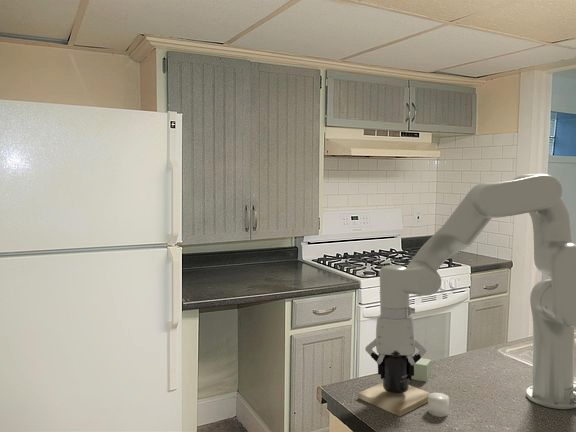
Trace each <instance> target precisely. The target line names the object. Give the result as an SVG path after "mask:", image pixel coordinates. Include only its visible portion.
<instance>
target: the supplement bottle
mask: <svg viewBox="0 0 576 432" xmlns="http://www.w3.org/2000/svg"><path fill="white" fill-rule="evenodd" d="M391 354H393V355H385V356H384V358H383V360H382V361H383V379H382V382H383V388H384V389H385V390H386V391H388V392H391V393H404V392H406V391H407V390H408V389H409V385H410V383H409V382H410V380H409V368H408V365H409V360H408V358H407V356H401V355H400V353H398V351H394V353H391Z"/></svg>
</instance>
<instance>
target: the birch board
mask: <svg viewBox="0 0 576 432" xmlns="http://www.w3.org/2000/svg"><path fill="white" fill-rule="evenodd" d="M431 393H432V392H429V391H426V390H423V389H420V388H418V387H416V386H413V385H410V384H409V389H408V390H407V391H406V392H404V393H391V392H388V391H386V390H385V389H384V388H383V381H381V382H380V383H377V384H376V385H374V386H371V387H368V388H366V389H364V390H361V391H360V392H358V393H357V395H358V396H357V398H358V399H359V400H361V401H363V402H366V403H369V404H370V405H373V406H375V407H378V408H380V409H382V410H385V411H386V412H389V413H392V414H394V415H396V416H398V417H402V416H404V415H406V414H408V413H410V412H411V411H414V410H416V409H418V408H419V407H421V406H423V405H425V404H428V395H429V394H431Z"/></svg>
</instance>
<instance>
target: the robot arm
mask: <svg viewBox="0 0 576 432" xmlns="http://www.w3.org/2000/svg"><path fill="white" fill-rule="evenodd" d="M562 196H563V187H562V184H561V182H560V181H559V179H558V178H556V177H555V176H554V175H550V174H546V173H529V174H528V173H525V174H520V175H518V176H516V177H514V178H513V179H512V180H507V181H500V182H482V183H478V184H476V185H474V186H473V187H472V188H471V189H470V190H469V191H468V192H467V194H466V195H465V196H464V198H463V199H462V200H461V201H460V203H458V205H457V207H456V208H455V209H454V211H453V212H451V215H450V216H449V218H447V220H446V221H445V223H444V224H443V225H442V226H441V227H440V228H439V229H438V230H437V231H436V232H435V233H434V234H433V235H432V236H431V237H429V239H427V241H425V243H423V245H422V246H421V247H420V249H419V250H418V251H417V253H416V254H415V255H414V256H413V257H412V259H411V260H410V261H409V263H408V264H407V266H404V265H399V264H398V265H397V264H391V265H390V264H389V265H383V266H382V267H381V268H380V270H379V301H380V302H379V303H380V304H379V305H380V306H379V307H380V310H379V311H380V314H379V315H377V319H376V327H375V329H376V330H375V338H374V339H373V340H372V341H370V343H369V344H367V345H366V346H365V347H364V348H365V352H367V353H366V354H368V355H369V356H370V357H371V359H373V360H374V361H375V362H376V365H377V375H380V379H381V380H383V358H384V356H385V355H393V354H391V353H394V351H398V353H400V355H401V356H407V358H408V360H409V365H408V368H409V381H413V379H412V376H414V365H415V363H416V362H417V361H418V360H420V358H423V356H424V355H425V354H426V353H427V348H425V347H424V346H423V345H422V344H420V342H418V341H417V339H416V337H415V327H414V320H413V316H411V314H415V313H416V308H415V307H411V306H410V295H417V296H425V297H426V296H432V295H434V294H436V293H438V292H439V290H440V288H441V286H442V277H441V276H440V273H438V270H439V269H440V268H441V266H442V265H443V264H444V263H445V262H446V261H447V260H448V259H449V258H451V256H453V255H455V254H456V253H460V252H461V251H464V250H466V249H467V248H469V247H470V246H472V245H473V243H474V242H475V241H476V239H477V237H478V236H479V235H480V234H481V233H482V231H483V230H484V228H485V227H486V226H487V225H488V224H489V222H490V221H491V219H493V218H495V219H496V218H505V217H513V216H519V215H523V214H529V216H530V219H531V222H532V231H533V260H534V261H533V262H534V265H535V267H536V269H537V270H538V271H540V273H543V274H545V275H547V276H548V277H551V279H549V278H548V279H543V280H540V281H539V282H537V283H536V284H535V285H534V286H533V287H532V289H531V292H530V297H529V299H530V300H529V301H530V302H529V303H530V311H531V317H532V385H530V386H529V387H527V388H526V390H525V396H526V397H527V399H528V400H529V401H531V402H532V403H535V404H537V405H540V406H542V407H545V408H550V409H557V410H570V409H572V410H573V409H576V383H574V382H575V381H574V379H575V378H574V377H575V376H574V374H575V373H574V371H575V370H574V369H575V368H574V367H575V328H576V243H573V242H572V231H571V220H570V214H569V211H568V208H567V205H566V204H565V203H564V201H563V199H562ZM374 348H375V349H376V352H375V351H374V350H373V349H374ZM416 349H417V350H418V352H417V353H415V352H416Z"/></svg>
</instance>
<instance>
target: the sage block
mask: <svg viewBox="0 0 576 432" xmlns="http://www.w3.org/2000/svg"><path fill="white" fill-rule="evenodd" d="M431 376H432V360H431V359H429V358H423V357H421V358H420V360H418V361H417V362H416V363H415V365H414V376H412V380H414V381H419V382H420V381H421V382H425V383H427V382H428V381H429V380H430V378H431Z"/></svg>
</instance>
